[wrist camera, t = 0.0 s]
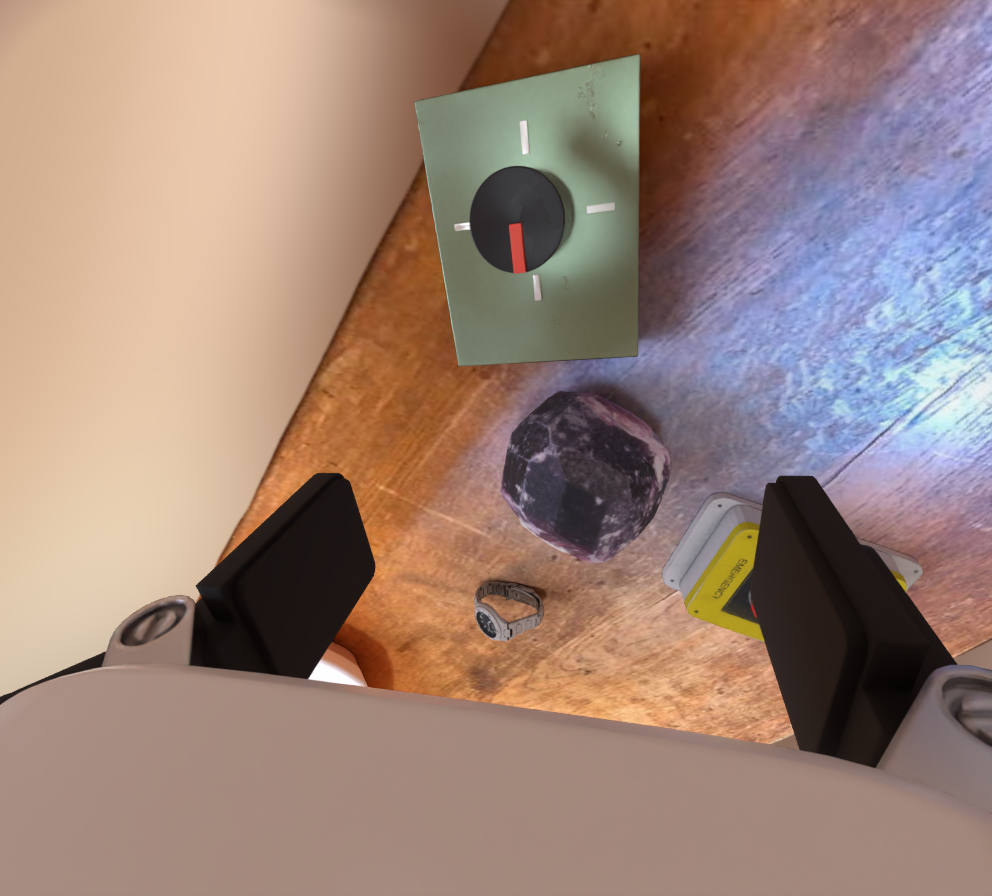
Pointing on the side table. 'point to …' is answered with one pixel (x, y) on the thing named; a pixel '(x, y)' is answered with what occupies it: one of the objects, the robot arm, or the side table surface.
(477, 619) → the wristwatch
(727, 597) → the emergency button
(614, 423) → the mineral specimen
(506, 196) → the knob
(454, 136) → the panel
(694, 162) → the side table surface
